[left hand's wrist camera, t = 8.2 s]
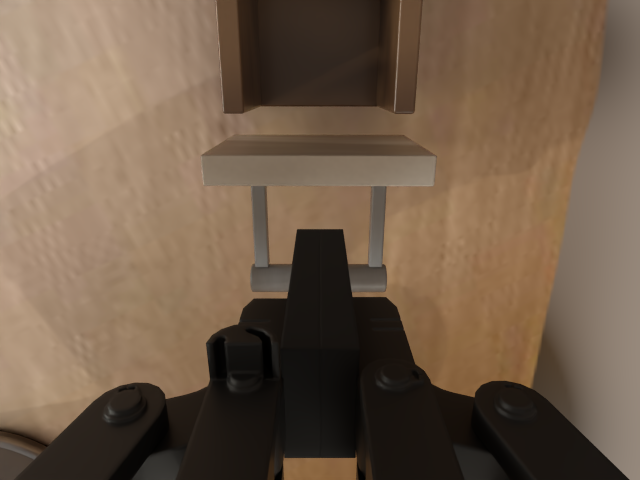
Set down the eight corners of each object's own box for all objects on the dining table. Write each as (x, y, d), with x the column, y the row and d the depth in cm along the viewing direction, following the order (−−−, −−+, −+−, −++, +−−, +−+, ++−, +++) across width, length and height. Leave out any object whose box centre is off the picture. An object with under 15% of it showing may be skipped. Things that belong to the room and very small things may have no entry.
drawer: (396, 252, 25) (422, 310, 19) (241, 252, 25) (214, 310, 19) (428, -234, 18) (489, -411, 12) (210, -235, 18) (149, -413, 12)
